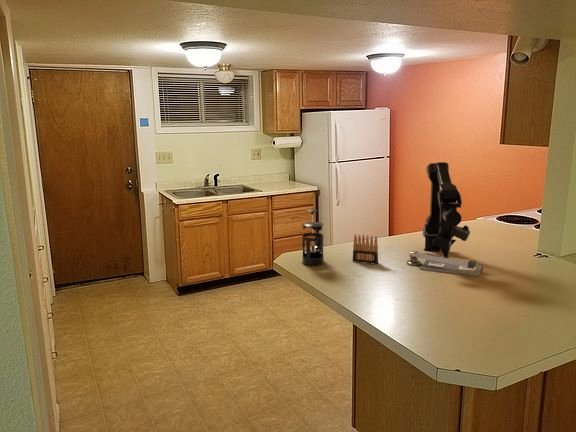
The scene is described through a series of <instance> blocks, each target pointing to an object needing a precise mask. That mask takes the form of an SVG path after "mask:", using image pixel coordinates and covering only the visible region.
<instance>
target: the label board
mask: <svg viewBox="0 0 576 432" xmlns="http://www.w3.org/2000/svg"><path fill="white" fill-rule="evenodd" d="M482 268H483V264H476V266H475V267H474V268H469V267H465V266H459V265H454V264H448V263H442V262H437V261H431V260H425V261H424V262H423V263H422V264H421V266H420V267H419V270H420V271H426V270H427V271H428V272H435V273H442V274H443V273H446V274H453V275H460V276H467V277H468V276H469V277H475V278H476V277H477V278H479V277H480V275H481V272H482V270H483V269H482Z"/></svg>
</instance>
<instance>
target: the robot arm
mask: <svg viewBox="0 0 576 432" xmlns="http://www.w3.org/2000/svg"><path fill="white" fill-rule="evenodd" d="M449 169H450V167H449V163H448V162H444V161H443V162H442V161H441V162H440V161H439V162H438V161H437V162H430V163H429V164H428V165H427V166H426V174H427V178H428V180H429V181H430V197H429V198H430V203H429V204H430V205H429V215H428V216H427V218H426V219H425V224H424V225H423V229H422V236H423V238H424V239H425V242H424V248H423V250H424V251H427V252H428V251H430V252H437V253H438V252H439V251H441V253H442V256H447V257H449V253H450V251H451V248H452V246H453V245H454V243H455V242H456V241H457V240H456V239H453V238H454V237H455V238H458V239H460V240H461V241H464V242H466V241H468V239H469V236H470V234H471V231H470V229H469V228H470V227H469V226H468V225H467V224H466V225H463V226H462V227H461V226H458V225H460V223H462V215H461V213H460V212H459V211H458V210H457V209H458V208H460V209H461V208H462V204H463V203H462V196H461V194H460V191H459V190H458V187H457V186H456V185H455V184H454V183H452V180H451V179H452V178H451V176H450V171H449Z"/></svg>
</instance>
